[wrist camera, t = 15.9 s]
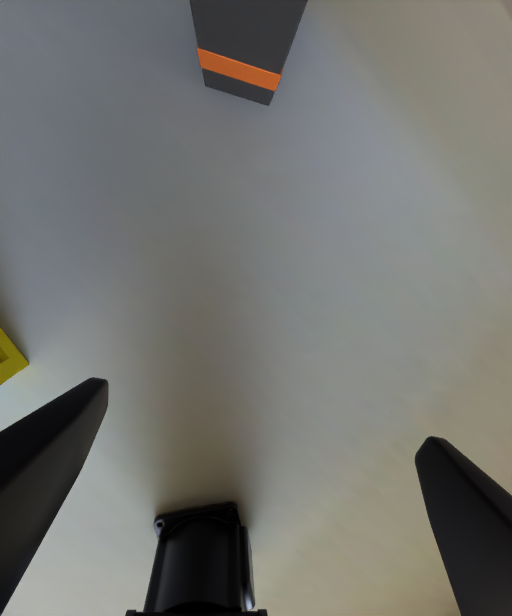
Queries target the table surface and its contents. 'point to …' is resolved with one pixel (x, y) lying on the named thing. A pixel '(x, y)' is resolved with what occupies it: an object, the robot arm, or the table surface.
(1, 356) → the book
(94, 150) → the table surface
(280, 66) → the laser measure
